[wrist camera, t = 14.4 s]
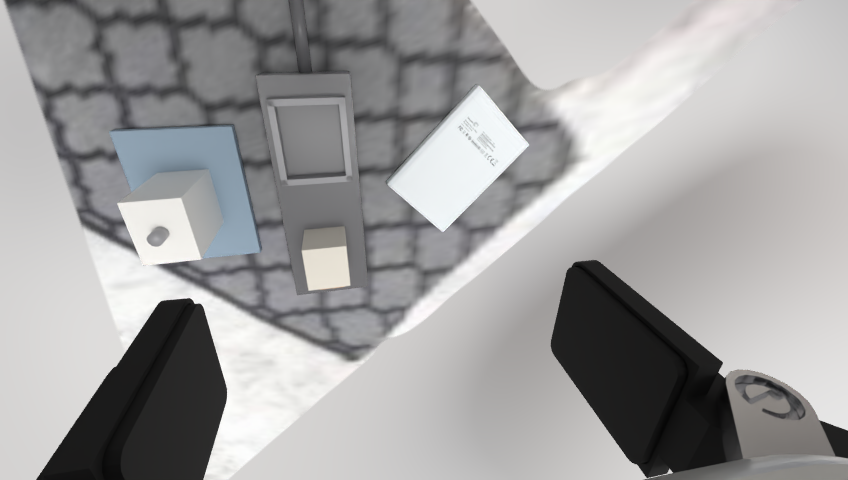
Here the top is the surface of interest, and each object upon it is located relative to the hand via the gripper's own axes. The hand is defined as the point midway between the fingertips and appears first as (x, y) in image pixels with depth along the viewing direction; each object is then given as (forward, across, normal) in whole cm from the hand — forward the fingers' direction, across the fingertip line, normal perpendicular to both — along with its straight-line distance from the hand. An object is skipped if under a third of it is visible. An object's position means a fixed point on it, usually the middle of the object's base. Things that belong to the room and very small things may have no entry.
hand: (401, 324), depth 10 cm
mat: (+28, +14, +6) cm, 32 cm away
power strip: (+28, +3, +2) cm, 28 cm away
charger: (+27, +14, +6) cm, 31 cm away
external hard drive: (+29, -10, +4) cm, 31 cm away
